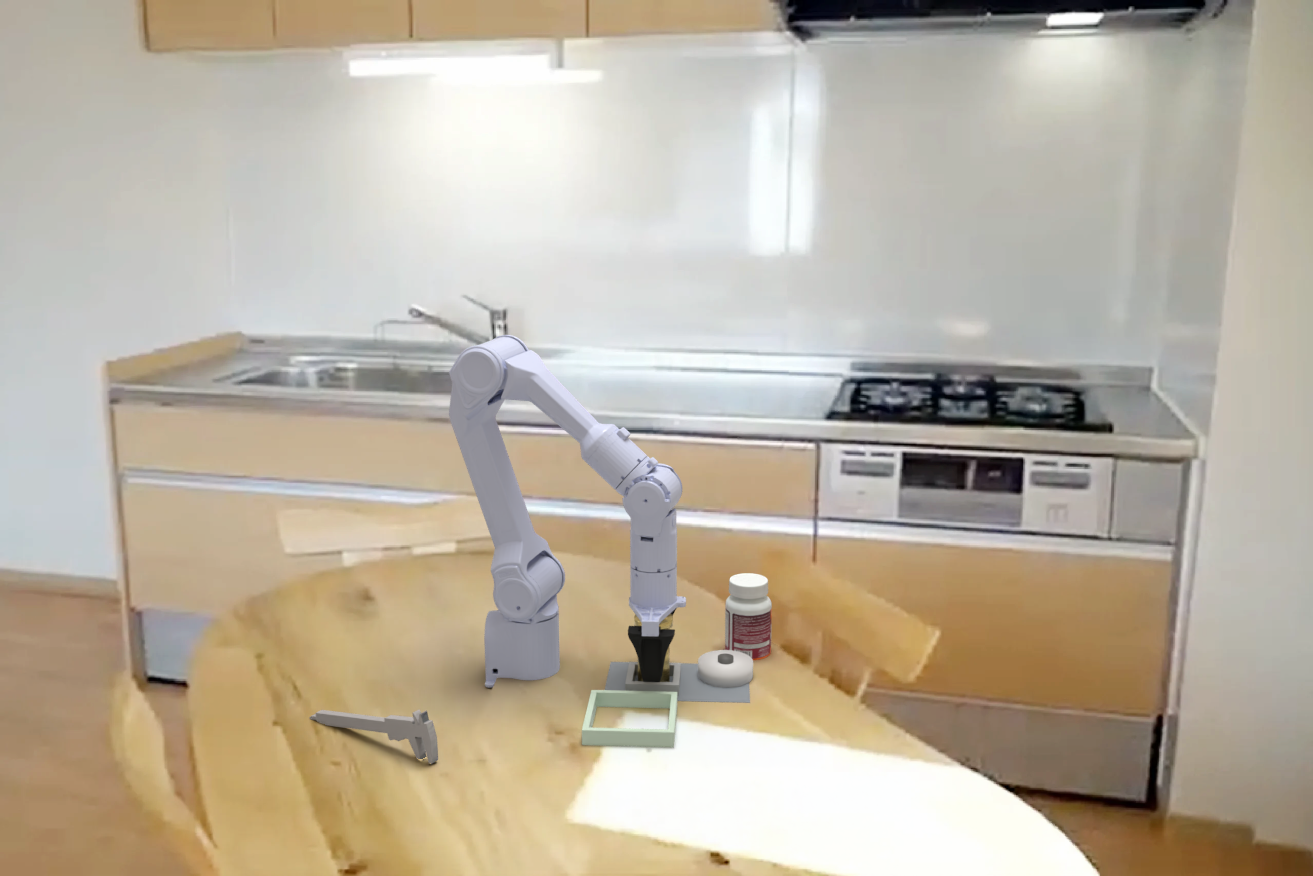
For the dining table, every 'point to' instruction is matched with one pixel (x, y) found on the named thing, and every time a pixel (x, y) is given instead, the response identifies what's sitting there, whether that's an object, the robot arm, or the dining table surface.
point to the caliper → (390, 728)
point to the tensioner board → (693, 678)
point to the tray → (627, 734)
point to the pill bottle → (748, 616)
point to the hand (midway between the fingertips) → (653, 668)
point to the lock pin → (667, 624)
